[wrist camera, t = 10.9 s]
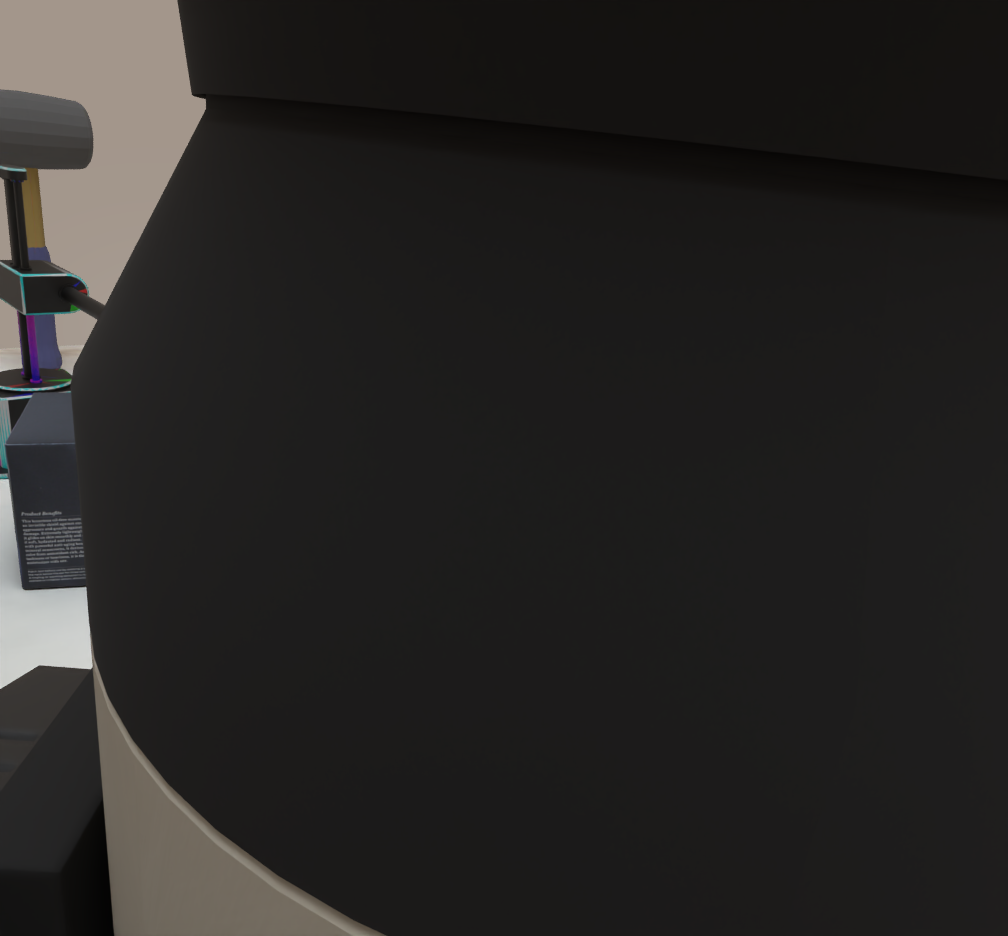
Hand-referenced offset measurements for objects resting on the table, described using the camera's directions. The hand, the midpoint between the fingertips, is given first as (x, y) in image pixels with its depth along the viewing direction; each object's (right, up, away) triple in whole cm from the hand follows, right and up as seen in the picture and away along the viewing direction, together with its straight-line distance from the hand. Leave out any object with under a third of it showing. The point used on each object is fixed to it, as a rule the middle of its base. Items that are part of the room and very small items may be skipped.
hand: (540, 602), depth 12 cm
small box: (-31, -4, +47) cm, 56 cm away
